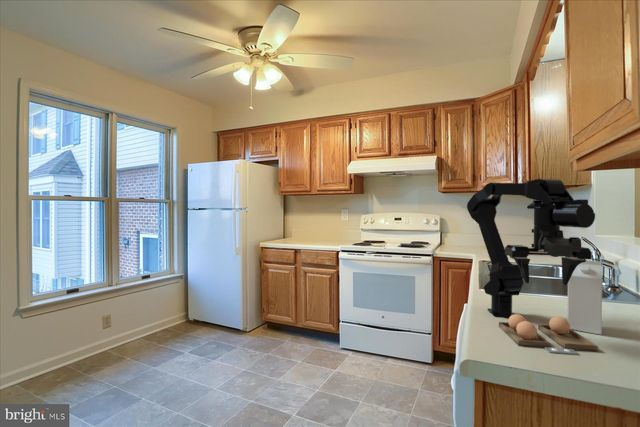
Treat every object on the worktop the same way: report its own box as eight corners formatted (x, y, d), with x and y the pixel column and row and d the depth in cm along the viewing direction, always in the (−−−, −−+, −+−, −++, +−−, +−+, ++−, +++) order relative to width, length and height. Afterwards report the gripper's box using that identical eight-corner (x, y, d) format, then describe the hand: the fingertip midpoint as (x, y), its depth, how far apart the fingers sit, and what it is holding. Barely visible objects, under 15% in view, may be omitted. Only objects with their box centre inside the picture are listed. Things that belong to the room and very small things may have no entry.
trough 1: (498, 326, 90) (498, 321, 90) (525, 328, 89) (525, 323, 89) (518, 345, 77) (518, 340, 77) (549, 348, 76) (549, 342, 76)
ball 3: (545, 329, 87) (545, 313, 87) (563, 331, 86) (564, 314, 86) (554, 336, 82) (554, 319, 82) (573, 337, 82) (573, 320, 82)
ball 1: (505, 327, 89) (505, 311, 88) (523, 328, 88) (523, 312, 88) (512, 333, 84) (512, 316, 84) (530, 334, 83) (530, 317, 83)
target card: (544, 348, 76) (544, 346, 76) (572, 350, 75) (572, 348, 75) (549, 352, 74) (549, 351, 74) (578, 354, 73) (578, 353, 73)
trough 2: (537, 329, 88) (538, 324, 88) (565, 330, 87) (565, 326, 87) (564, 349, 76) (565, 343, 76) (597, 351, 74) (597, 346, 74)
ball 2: (513, 335, 83) (512, 318, 83) (532, 335, 82) (531, 318, 82) (521, 342, 79) (520, 324, 79) (541, 342, 78) (540, 324, 78)
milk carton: (568, 322, 94) (569, 257, 94) (600, 327, 90) (601, 260, 89) (567, 329, 89) (568, 260, 88) (601, 335, 84) (602, 263, 84)
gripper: (521, 226, 80) (521, 289, 80) (607, 228, 76) (606, 293, 77) (504, 224, 91) (503, 279, 91) (578, 225, 87) (578, 282, 88)
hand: (545, 283), depth 86 cm, fingers open, 9 cm apart
